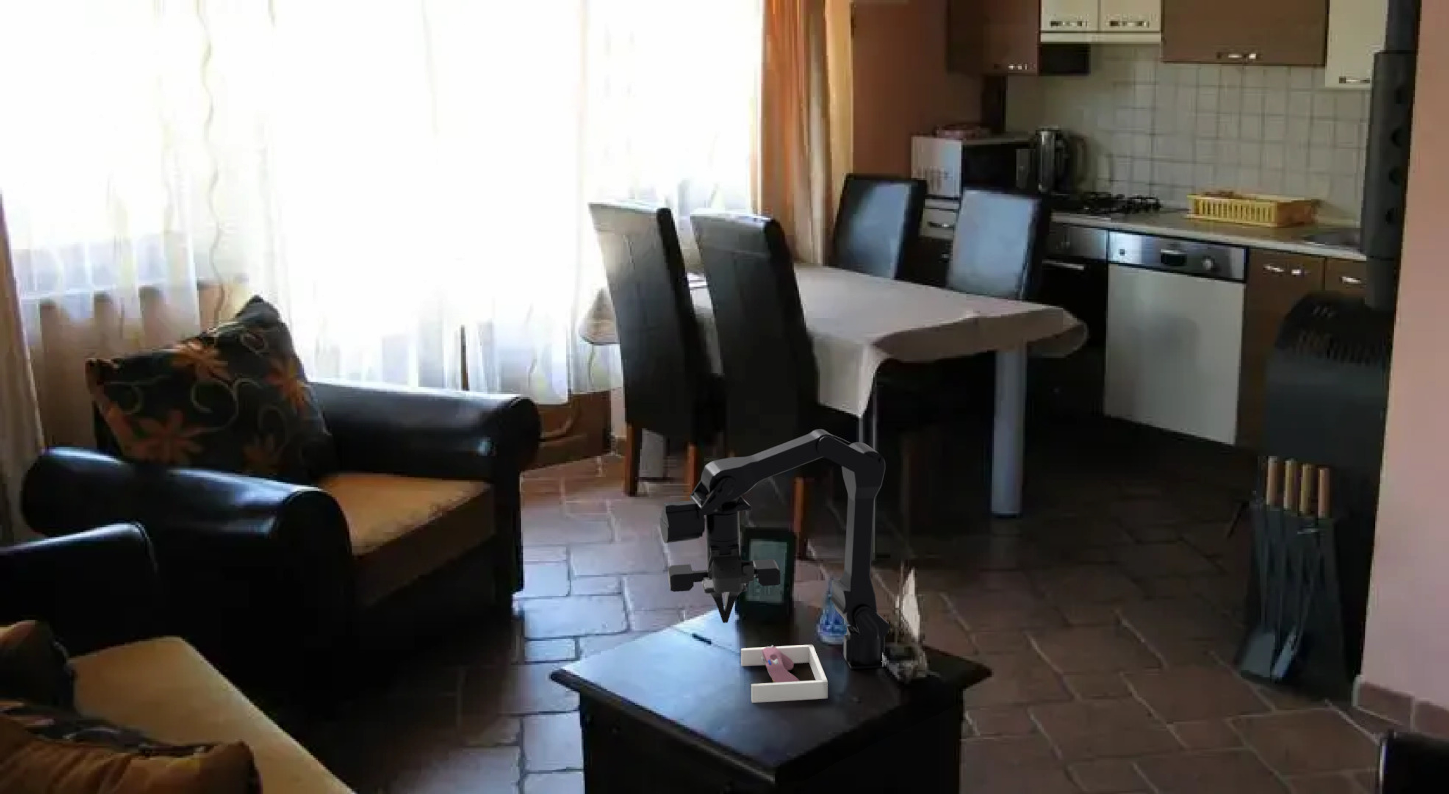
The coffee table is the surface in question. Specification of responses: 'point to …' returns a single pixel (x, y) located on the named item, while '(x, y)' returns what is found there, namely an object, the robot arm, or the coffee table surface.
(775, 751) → the coffee table surface
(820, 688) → the white u-shaped bracket
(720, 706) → the coffee table surface
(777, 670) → the pink curved piece
